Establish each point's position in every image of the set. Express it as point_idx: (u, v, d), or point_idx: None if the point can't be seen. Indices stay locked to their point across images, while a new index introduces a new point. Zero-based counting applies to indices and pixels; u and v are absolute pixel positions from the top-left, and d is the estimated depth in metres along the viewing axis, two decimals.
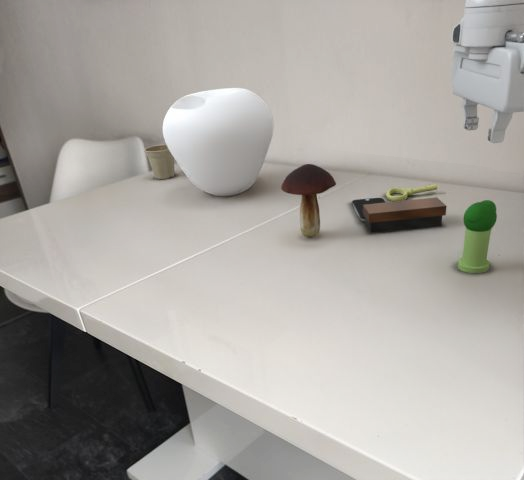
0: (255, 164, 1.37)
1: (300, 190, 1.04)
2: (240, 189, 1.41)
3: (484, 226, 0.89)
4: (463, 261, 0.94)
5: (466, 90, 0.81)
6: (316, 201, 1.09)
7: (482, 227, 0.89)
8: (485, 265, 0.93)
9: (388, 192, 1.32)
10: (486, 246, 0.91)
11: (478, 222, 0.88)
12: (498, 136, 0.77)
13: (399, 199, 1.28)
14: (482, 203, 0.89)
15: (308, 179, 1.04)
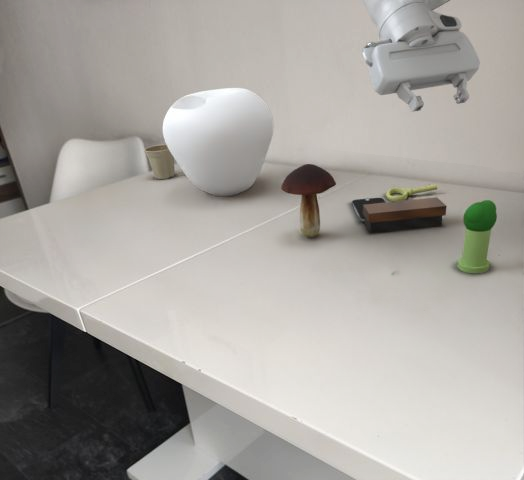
0: (255, 164, 1.37)
1: (300, 190, 1.04)
2: (240, 189, 1.41)
3: (484, 226, 0.89)
4: (463, 261, 0.94)
5: None
6: (316, 201, 1.09)
7: (482, 227, 0.89)
8: (485, 265, 0.93)
9: (388, 192, 1.32)
10: (486, 246, 0.91)
11: (478, 222, 0.88)
12: (412, 104, 0.90)
13: (399, 199, 1.28)
14: (482, 203, 0.89)
15: (308, 179, 1.04)
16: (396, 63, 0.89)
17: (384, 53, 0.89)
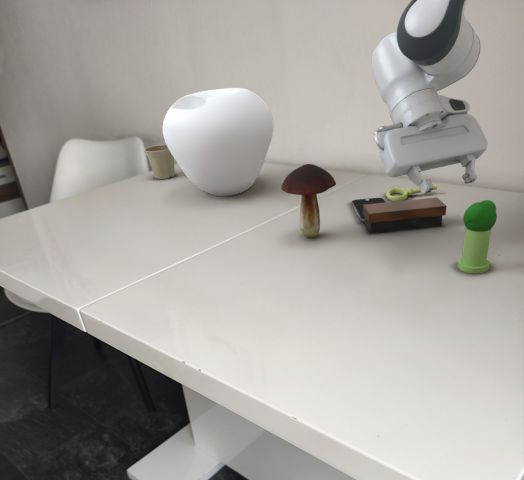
0: (255, 164, 1.37)
1: (300, 190, 1.04)
2: (240, 189, 1.41)
3: (484, 226, 0.89)
4: (463, 261, 0.94)
5: None
6: (316, 201, 1.09)
7: (482, 227, 0.89)
8: (485, 265, 0.93)
9: (388, 192, 1.32)
10: (486, 246, 0.91)
11: (478, 222, 0.88)
12: (422, 187, 0.93)
13: (399, 199, 1.28)
14: (482, 203, 0.89)
15: (308, 179, 1.04)
16: (407, 149, 0.93)
17: (395, 138, 0.93)
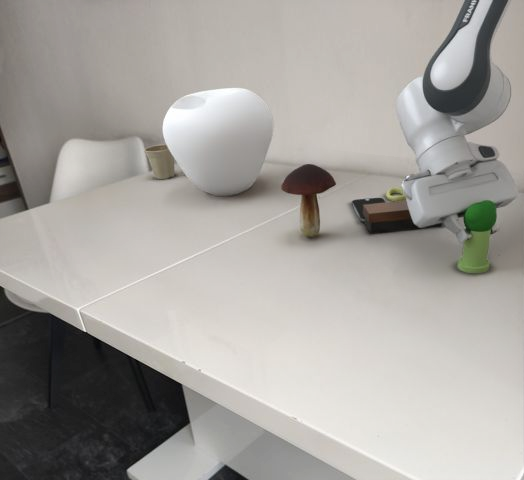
0: (255, 164, 1.37)
1: (300, 190, 1.04)
2: (240, 189, 1.41)
3: (484, 226, 0.89)
4: (463, 261, 0.94)
5: None
6: (316, 201, 1.09)
7: (482, 227, 0.89)
8: (485, 265, 0.93)
9: (388, 192, 1.32)
10: (486, 246, 0.91)
11: (477, 222, 0.88)
12: (460, 236, 0.91)
13: (399, 199, 1.28)
14: (482, 203, 0.89)
15: (308, 179, 1.04)
16: (436, 199, 0.89)
17: (424, 188, 0.89)
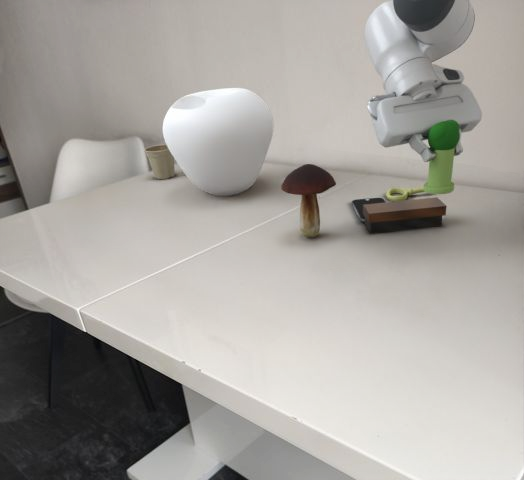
0: (255, 164, 1.37)
1: (300, 190, 1.04)
2: (240, 189, 1.41)
3: (447, 144, 0.91)
4: (428, 183, 0.96)
5: None
6: (316, 201, 1.09)
7: (445, 145, 0.91)
8: (449, 186, 0.95)
9: (388, 192, 1.32)
10: (450, 166, 0.93)
11: (441, 140, 0.90)
12: (425, 155, 0.93)
13: (399, 199, 1.28)
14: (445, 121, 0.91)
15: (308, 179, 1.04)
16: (400, 118, 0.91)
17: (389, 107, 0.91)
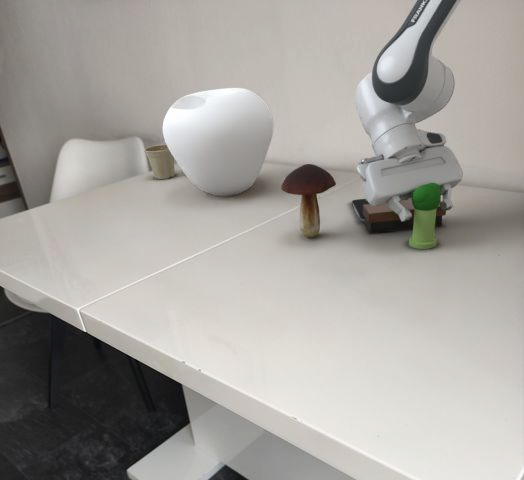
0: (255, 164, 1.37)
1: (300, 190, 1.04)
2: (240, 189, 1.41)
3: (429, 206, 0.99)
4: (413, 238, 1.05)
5: None
6: (316, 201, 1.09)
7: (427, 206, 0.99)
8: (432, 241, 1.04)
9: None
10: (432, 224, 1.02)
11: (423, 202, 0.99)
12: (402, 215, 1.00)
13: None
14: (427, 185, 0.99)
15: (308, 179, 1.04)
16: (387, 180, 1.00)
17: (376, 170, 1.00)
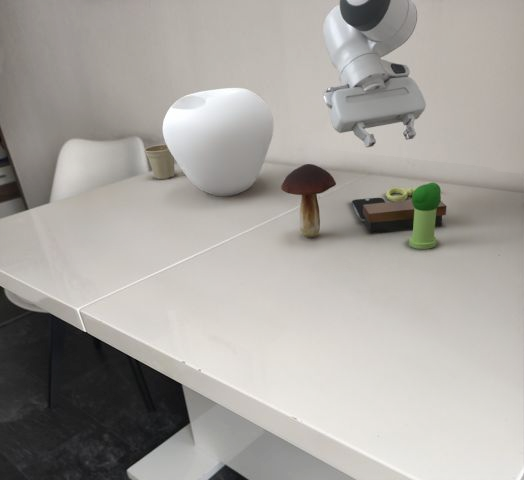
0: (255, 164, 1.37)
1: (300, 190, 1.04)
2: (240, 189, 1.41)
3: (429, 206, 0.99)
4: (413, 238, 1.05)
5: None
6: (316, 201, 1.09)
7: (427, 206, 0.99)
8: (432, 241, 1.04)
9: (388, 192, 1.32)
10: (432, 224, 1.02)
11: (423, 202, 0.99)
12: (366, 141, 1.05)
13: (399, 199, 1.28)
14: (427, 185, 0.99)
15: (308, 179, 1.04)
16: (352, 106, 1.04)
17: (342, 97, 1.04)
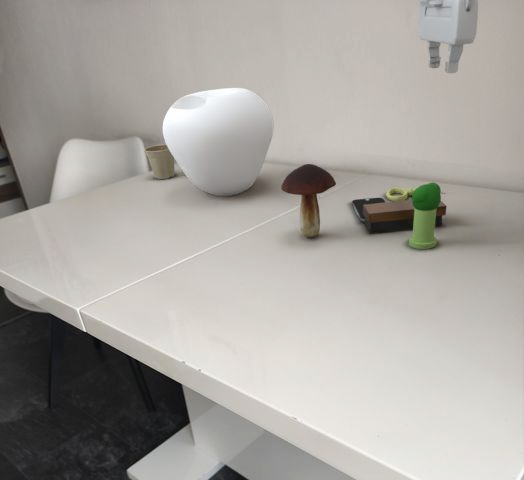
0: (255, 164, 1.37)
1: (300, 190, 1.04)
2: (240, 189, 1.41)
3: (429, 206, 0.99)
4: (413, 238, 1.05)
5: (429, 33, 1.00)
6: (316, 201, 1.09)
7: (427, 206, 0.99)
8: (432, 241, 1.04)
9: (388, 192, 1.32)
10: (432, 224, 1.02)
11: (423, 202, 0.99)
12: (453, 67, 0.95)
13: (399, 199, 1.28)
14: (427, 185, 0.99)
15: (308, 179, 1.04)
16: None
17: None
